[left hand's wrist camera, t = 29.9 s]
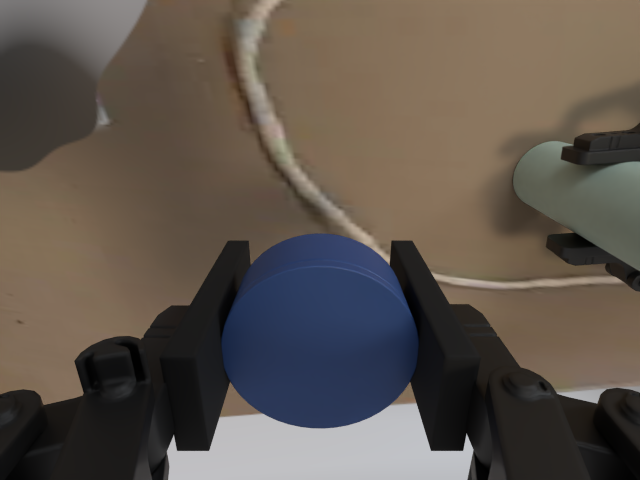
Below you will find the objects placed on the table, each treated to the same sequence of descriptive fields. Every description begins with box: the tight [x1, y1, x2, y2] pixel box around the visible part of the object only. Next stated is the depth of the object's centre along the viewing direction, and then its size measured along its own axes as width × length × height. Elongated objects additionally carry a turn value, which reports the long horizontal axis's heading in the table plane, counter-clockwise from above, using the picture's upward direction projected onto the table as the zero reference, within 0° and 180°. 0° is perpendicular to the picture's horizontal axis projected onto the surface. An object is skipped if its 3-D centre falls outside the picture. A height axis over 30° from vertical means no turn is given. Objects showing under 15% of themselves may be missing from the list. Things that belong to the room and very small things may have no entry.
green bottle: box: [513, 141, 640, 271], centre depth 22 cm, size 5×5×15 cm
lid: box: [221, 234, 419, 428], centre depth 11 cm, size 5×5×2 cm
